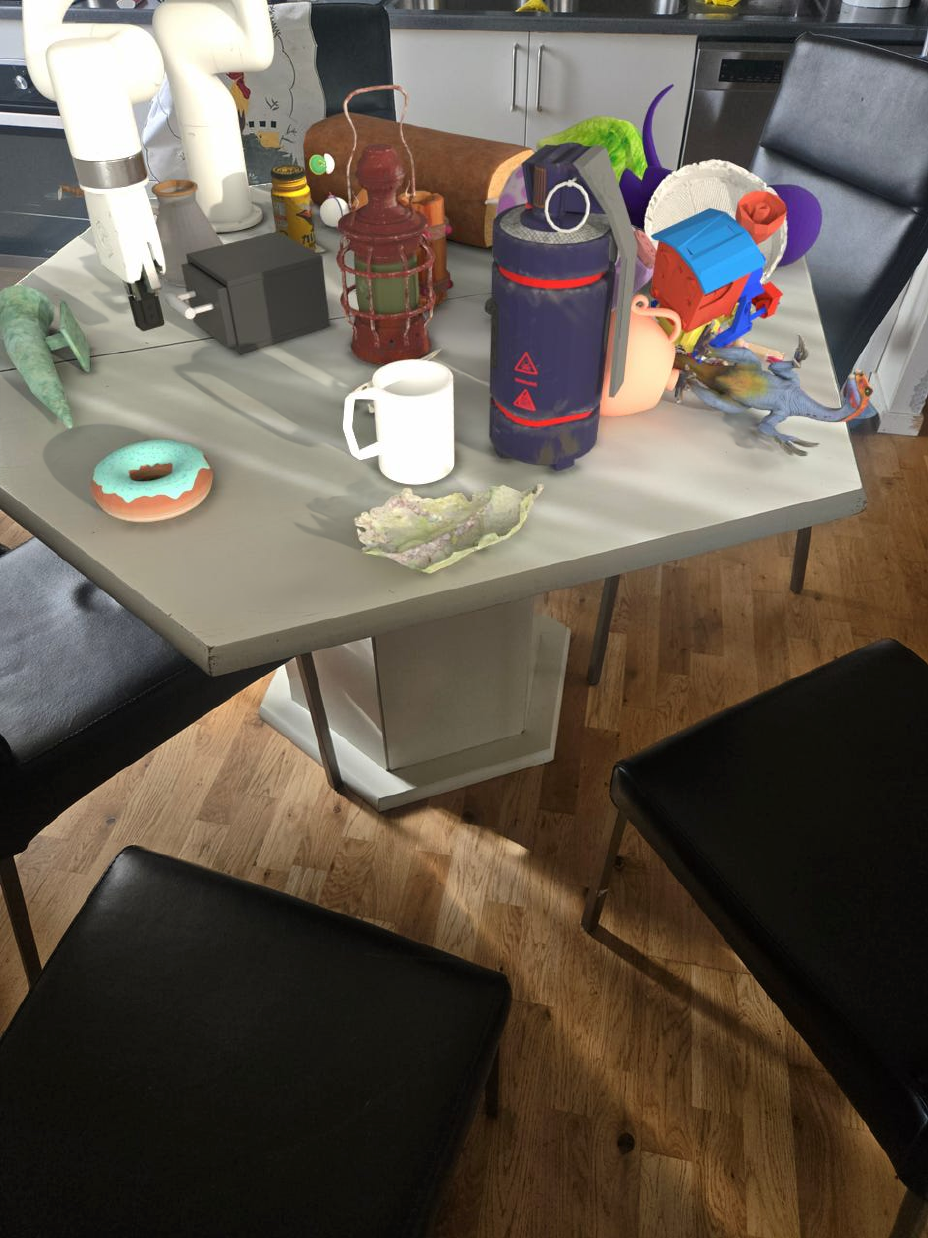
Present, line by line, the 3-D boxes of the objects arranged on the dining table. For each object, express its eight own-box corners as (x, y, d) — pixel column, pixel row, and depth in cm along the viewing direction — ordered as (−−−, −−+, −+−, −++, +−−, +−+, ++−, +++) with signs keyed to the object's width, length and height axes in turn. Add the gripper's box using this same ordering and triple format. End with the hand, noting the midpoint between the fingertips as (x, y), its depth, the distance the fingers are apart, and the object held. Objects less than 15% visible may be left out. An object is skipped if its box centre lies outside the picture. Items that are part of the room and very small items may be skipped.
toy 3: (602, 222, 132) (811, 252, 123) (643, 49, 127) (863, 68, 119) (624, 258, 151) (806, 286, 143) (660, 110, 147) (850, 130, 138)
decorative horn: (60, 401, 97) (63, 268, 116) (-37, 431, 97) (-18, 292, 116) (91, 449, 103) (89, 314, 122) (-1, 477, 102) (12, 338, 121)
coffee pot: (222, 257, 141) (203, 154, 130) (239, 284, 133) (220, 176, 123) (81, 280, 134) (50, 172, 124) (91, 309, 127) (58, 197, 116)
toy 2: (626, 137, 130) (540, 81, 104) (709, 269, 128) (643, 245, 103) (537, 219, 139) (438, 186, 114) (613, 343, 138) (531, 338, 112)
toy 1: (329, 153, 149) (345, 145, 142) (348, 229, 154) (365, 225, 147) (298, 159, 147) (313, 152, 141) (318, 236, 152) (334, 233, 146)
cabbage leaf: (548, 558, 88) (426, 541, 96) (550, 480, 86) (425, 470, 94) (459, 591, 76) (327, 568, 84) (459, 501, 74) (323, 487, 82)
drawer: (201, 357, 113) (188, 297, 108) (166, 329, 119) (152, 271, 114) (312, 323, 121) (305, 265, 116) (274, 298, 127) (266, 242, 122)
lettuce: (533, 80, 145) (499, 178, 151) (652, 118, 136) (611, 221, 142) (571, 109, 157) (538, 199, 163) (683, 145, 149) (644, 239, 154)
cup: (334, 464, 97) (324, 379, 90) (433, 435, 101) (430, 352, 94) (365, 502, 92) (357, 415, 85) (468, 471, 96) (467, 385, 89)
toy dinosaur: (759, 324, 87) (922, 378, 93) (682, 284, 106) (821, 332, 111) (710, 433, 92) (866, 479, 98) (644, 377, 111) (779, 418, 116)
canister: (471, 459, 97) (472, 160, 77) (512, 409, 105) (522, 126, 85) (593, 488, 93) (628, 180, 73) (625, 433, 101) (665, 142, 81)
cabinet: (240, 354, 116) (227, 281, 110) (200, 324, 123) (185, 253, 116) (330, 326, 122) (322, 255, 116) (287, 299, 129) (277, 230, 122)
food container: (667, 312, 123) (656, 331, 130) (805, 275, 123) (786, 296, 130) (627, 175, 123) (617, 200, 130) (764, 139, 124) (747, 166, 131)
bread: (362, 183, 167) (356, 102, 158) (538, 225, 150) (542, 137, 141) (305, 205, 158) (295, 121, 149) (485, 253, 141) (487, 161, 132)
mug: (462, 294, 130) (462, 184, 120) (443, 317, 124) (441, 203, 114) (370, 282, 133) (361, 174, 123) (347, 303, 128) (336, 192, 118)
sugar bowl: (570, 425, 100) (657, 451, 101) (615, 304, 91) (709, 334, 92) (574, 381, 110) (653, 406, 110) (615, 269, 101) (700, 296, 102)
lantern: (367, 376, 111) (345, 105, 91) (330, 338, 119) (301, 80, 99) (453, 354, 115) (450, 90, 95) (412, 319, 123) (401, 68, 103)
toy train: (630, 318, 107) (653, 214, 93) (737, 267, 110) (774, 158, 96) (682, 376, 103) (713, 276, 89) (790, 321, 106) (837, 217, 93)
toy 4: (798, 334, 107) (682, 286, 108) (785, 368, 105) (667, 319, 106) (772, 372, 114) (664, 327, 115) (760, 405, 112) (649, 359, 113)
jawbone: (377, 415, 104) (376, 399, 103) (345, 405, 106) (343, 390, 105) (456, 363, 116) (456, 348, 115) (426, 355, 118) (425, 341, 117)
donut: (212, 525, 89) (204, 492, 86) (87, 534, 87) (75, 500, 85) (219, 461, 97) (213, 429, 95) (106, 468, 96) (96, 436, 93)
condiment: (326, 251, 142) (317, 170, 134) (277, 262, 139) (265, 180, 131) (306, 237, 147) (296, 158, 139) (258, 248, 143) (245, 167, 135)
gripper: (54, 160, 103) (98, 314, 115) (105, 193, 94) (147, 356, 107) (116, 148, 106) (153, 299, 119) (171, 179, 98) (205, 338, 110)
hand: (150, 325), depth 112 cm, fingers closed
